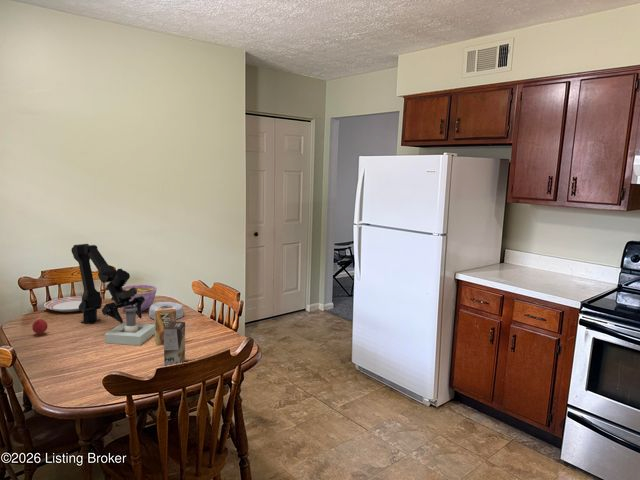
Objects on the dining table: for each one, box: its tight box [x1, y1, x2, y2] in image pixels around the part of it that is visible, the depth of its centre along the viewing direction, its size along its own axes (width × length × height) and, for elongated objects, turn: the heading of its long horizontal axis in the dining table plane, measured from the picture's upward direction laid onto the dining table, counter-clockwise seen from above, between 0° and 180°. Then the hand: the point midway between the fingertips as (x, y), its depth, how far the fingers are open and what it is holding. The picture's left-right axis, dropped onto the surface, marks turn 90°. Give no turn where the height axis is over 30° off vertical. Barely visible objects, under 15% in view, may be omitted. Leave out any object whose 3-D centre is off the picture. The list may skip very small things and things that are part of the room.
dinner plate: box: [43, 295, 82, 313], centre depth 242 cm, size 28×27×3 cm
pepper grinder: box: [124, 307, 139, 333], centre depth 201 cm, size 6×6×14 cm
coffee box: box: [163, 321, 186, 367], centre depth 176 cm, size 9×6×16 cm
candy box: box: [154, 307, 177, 345], centre depth 198 cm, size 9×4×15 cm, turn 116°
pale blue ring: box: [148, 301, 185, 320], centre depth 235 cm, size 18×18×6 cm
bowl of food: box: [122, 284, 158, 312], centre depth 242 cm, size 20×20×12 cm
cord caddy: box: [104, 322, 155, 346], centre depth 202 cm, size 16×16×4 cm
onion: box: [31, 317, 48, 336], centre depth 201 cm, size 6×6×8 cm
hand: (131, 320), depth 201 cm, fingers open, 9 cm apart
